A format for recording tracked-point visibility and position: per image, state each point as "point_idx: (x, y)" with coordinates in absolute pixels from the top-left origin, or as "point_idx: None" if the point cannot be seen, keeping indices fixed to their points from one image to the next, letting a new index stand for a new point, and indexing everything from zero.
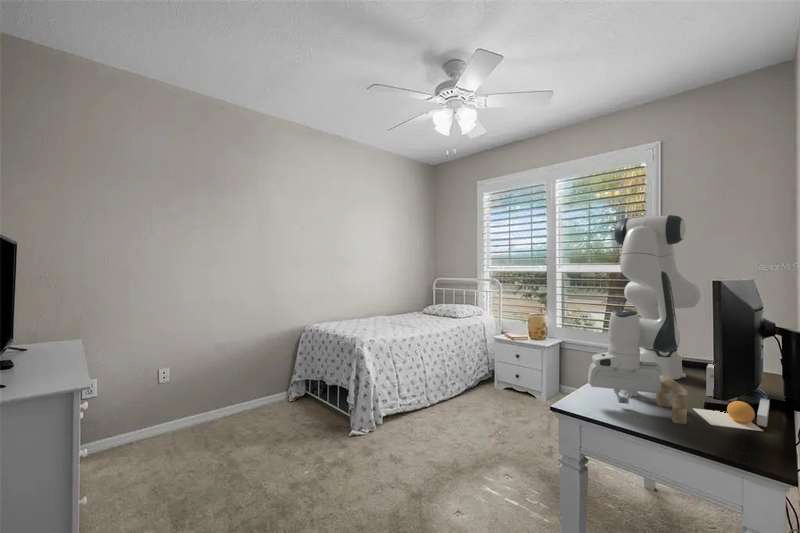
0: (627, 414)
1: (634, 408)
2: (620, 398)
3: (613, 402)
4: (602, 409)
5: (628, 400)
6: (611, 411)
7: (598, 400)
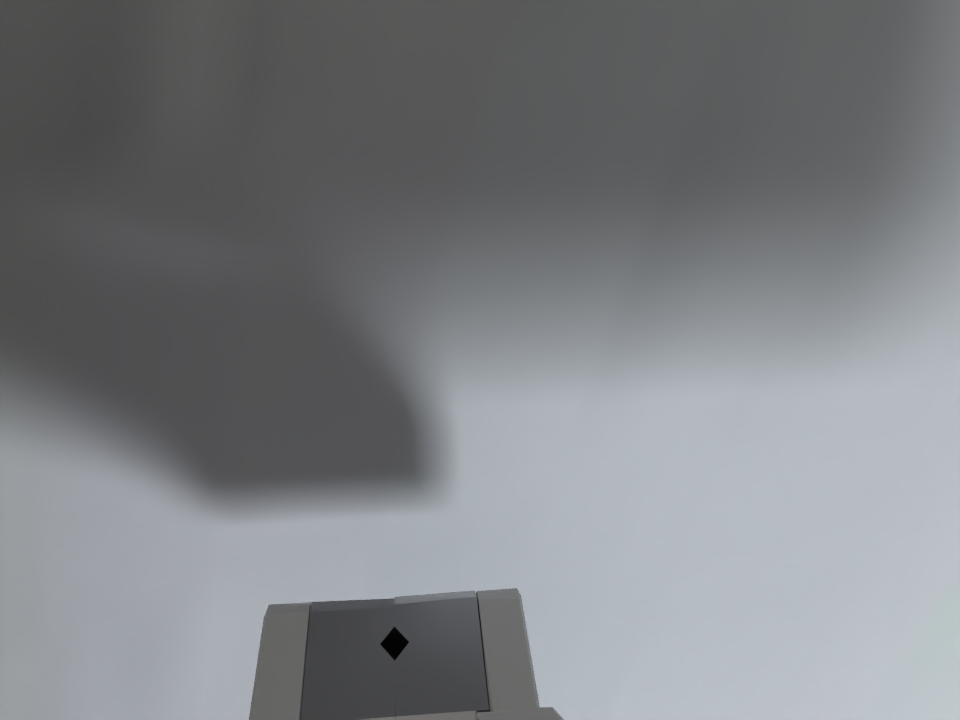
0: (368, 165)
1: (151, 576)
2: (487, 694)
3: None
4: (924, 287)
5: (266, 679)
6: (745, 233)
7: (774, 687)
